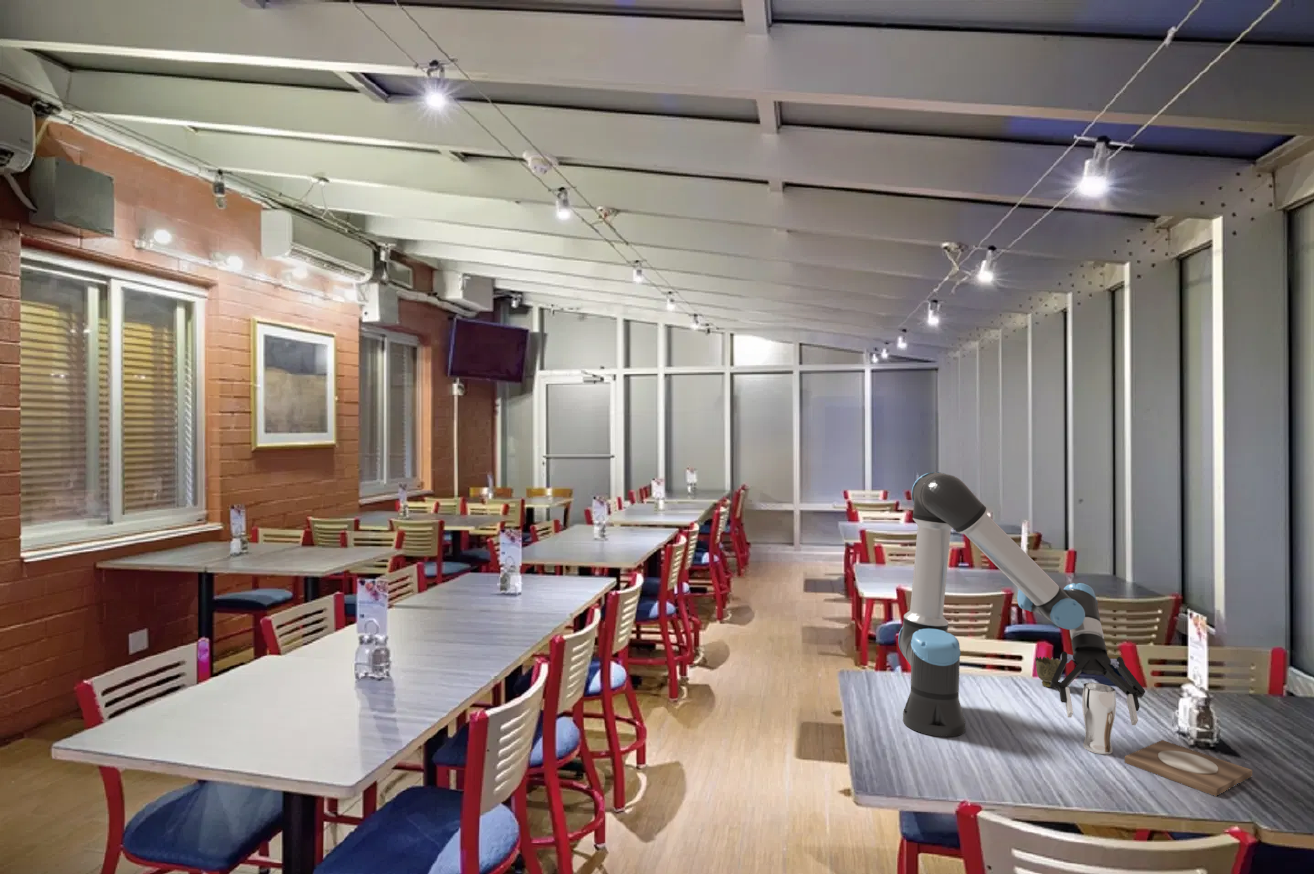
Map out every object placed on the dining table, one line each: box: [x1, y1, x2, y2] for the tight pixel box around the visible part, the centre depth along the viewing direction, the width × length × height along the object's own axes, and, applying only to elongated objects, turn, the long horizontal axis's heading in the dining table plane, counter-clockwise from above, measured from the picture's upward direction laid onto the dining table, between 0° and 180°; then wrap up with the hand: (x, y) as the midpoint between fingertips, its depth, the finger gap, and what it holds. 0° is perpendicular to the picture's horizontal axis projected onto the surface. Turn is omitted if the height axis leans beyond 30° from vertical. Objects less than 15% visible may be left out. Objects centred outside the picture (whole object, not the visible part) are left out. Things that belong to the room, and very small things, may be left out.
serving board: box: [1124, 739, 1253, 797], centre depth 165 cm, size 18×18×2 cm
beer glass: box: [1081, 682, 1117, 756], centre depth 175 cm, size 7×7×15 cm
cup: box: [1035, 656, 1062, 688], centre depth 219 cm, size 8×7×8 cm
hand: (1102, 718), depth 174 cm, fingers open, 13 cm apart
